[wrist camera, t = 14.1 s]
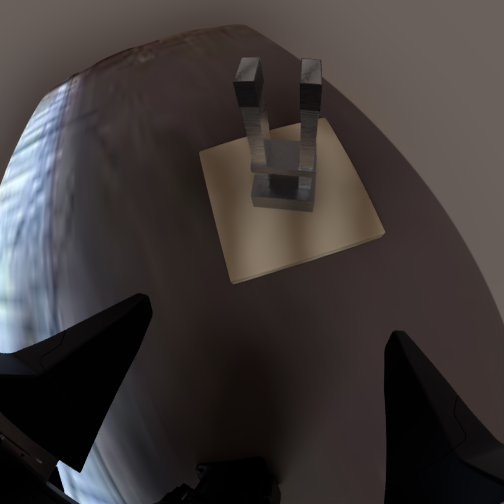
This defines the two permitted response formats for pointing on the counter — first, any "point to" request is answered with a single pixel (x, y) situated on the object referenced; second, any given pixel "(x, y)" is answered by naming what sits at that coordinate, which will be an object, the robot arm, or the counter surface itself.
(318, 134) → the plate
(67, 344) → the robot arm
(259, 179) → the two-prong grey stand
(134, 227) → the counter surface
